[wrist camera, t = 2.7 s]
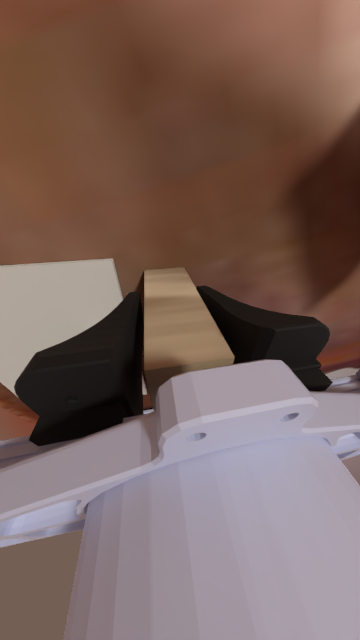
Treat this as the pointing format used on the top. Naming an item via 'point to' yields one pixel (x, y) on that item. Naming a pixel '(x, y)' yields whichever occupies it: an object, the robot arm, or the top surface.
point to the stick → (177, 329)
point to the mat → (51, 307)
